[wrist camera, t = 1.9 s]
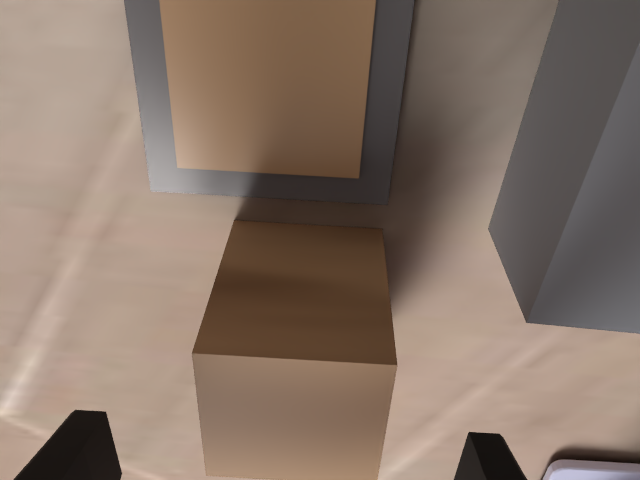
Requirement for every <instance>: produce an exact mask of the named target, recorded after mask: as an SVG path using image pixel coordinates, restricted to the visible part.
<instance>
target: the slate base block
mask: <svg viewBox="0 0 640 480" xmlns="http://www.w3.org/2000/svg"><path fill="white" fill-rule="evenodd" d="M488 230H489V232H490V235H491V237H492V240H493V242H494V244H495V247H496V249H497V252H498V254H499V257H500V259H501V262H502V264H503V266H504V269H505V271H506V274H507V276H508V279H509V281H510V284H511V286H512V289H513V291H514V293H515V296H516V298H517V301H518V303H519V306H520V308H521V311H522V313H523V315H524V318H525V320H526V323H535V324H545V325H556V326H566V327H576V328H587V329H597V330H608V331H618V332H628V333H639V334H640V0H559V3H558V6H557V9H556V13H555V16H554V19H553V22H552V25H551V29H550V32H549V35H548V38H547V41H546V45H545V48H544V51H543V54H542V57H541V61H540V64H539V67H538V70H537V74H536V77H535V80H534V83H533V86H532V90H531V93H530V96H529V99H528V102H527V106H526V109H525V112H524V115H523V118H522V122H521V125H520V128H519V131H518V135H517V138H516V141H515V144H514V147H513V151H512V154H511V157H510V160H509V163H508V167H507V170H506V173H505V176H504V179H503V183H502V186H501V189H500V192H499V196H498V199H497V202H496V205H495V208H494V212H493V215H492V218H491V221H490V224H489V228H488Z"/></svg>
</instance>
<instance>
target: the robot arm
mask: <svg viewBox="0 0 640 480" xmlns="http://www.w3.org/2000/svg"><path fill="white" fill-rule="evenodd" d="M121 475H122V472H121V468H120V464H119V460H118V456H117V453H116V449H115V445H114V441H113V437H112V433H111V429H110V426H109V422H108V418H107V414H106V412H102V411H84V410H75V411H74V412H72V413H71V414H70V415H69V416H68V417H67V419H66V420H65V421H64V422H63V423H62V425H61V426H60V427H59V428H58V429H57V430H56V432H55V433H54V434H53V435H52V436H51V437H50V439H49V440H48V441H47V442H46V443H45V444H44V446H43V447H42V448H41V449H40V450H39V451H38V452H37V454H36V455H35V456H34V457H33V458H32V459H31V460H30V462H29V463H28V464H27V465H26V466H25V467H24V468H23V469H22V471H21V472H20V473H19V474H18V475H17V476H16V477H15V478H14V480H120V479H121ZM454 480H527V479H526V477H525V475H524V474H523V472H522V470H521V468H520V467H519V465H518V463H517V461H516V460H515V458H514V456H513V454H512V452H511V451H510V449H509V447H508V445H507V443H506V442H505V440H504V438H503V437H502V436H501V435H500V434H494V433H476V432H469V433H468V436H467V439H466V442H465V446H464V449H463V452H462V455H461V459H460V462H459V465H458V468H457V471H456V475H455V478H454ZM543 480H640V464H635V463H618V462H601V461H585V460H568V459H562V460H557V461H555V462H553V463H551V465H550V466H549V467H548V469H547V471H546V473H545V476H544V478H543Z"/></svg>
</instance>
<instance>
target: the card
mask: <svg viewBox="0 0 640 480" xmlns="http://www.w3.org/2000/svg"><path fill="white" fill-rule="evenodd" d="M124 4H125V11H126V18H127V25H128V32H129V39H130V46H131V54H132V61H133V68H134V75H135V82H136V89H137V96H138V103H139V111H140V118H141V125H142V132H143V139H144V146H145V153H146V160H147V168H148V175H149V182H150V189H151V191H155V192H172V193H190V194H207V195H224V196H241V197H258V198H276V199H293V200H310V201H327V202H345V203H362V204H379V205H388V198H389V190H390V183H391V175H392V167H393V160H394V152H395V145H396V137H397V129H398V122H399V114H400V107H401V99H402V91H403V84H404V76H405V69H406V61H407V53H408V46H409V38H410V31H411V23H412V15H413V8H414V0H124Z"/></svg>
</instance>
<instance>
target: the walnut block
mask: <svg viewBox="0 0 640 480" xmlns="http://www.w3.org/2000/svg"><path fill="white" fill-rule="evenodd" d="M192 358H193V367H194V376H195V384H196V393H197V402H198V410H199V419H200V427H201V436H202V445H203V453H204V462H205V471H206V476H219V477H236V478H253V479H270V480H377V479H378V473H379V467H380V461H381V456H382V450H383V444H384V439H385V433H386V427H387V421H388V416H389V410H390V404H391V399H392V393H393V387H394V381H395V376H396V370H397V358H396V349H395V340H394V331H393V322H392V313H391V304H390V295H389V286H388V277H387V268H386V259H385V250H384V241H383V232H382V229H376V228H359V227H341V226H324V225H307V224H290V223H272V222H255V221H238V220H234V222H233V225H232V229H231V232H230V235H229V238H228V241H227V244H226V248H225V251H224V254H223V257H222V260H221V263H220V266H219V270H218V273H217V276H216V279H215V282H214V285H213V289H212V292H211V295H210V298H209V301H208V304H207V307H206V311H205V314H204V317H203V320H202V323H201V326H200V329H199V333H198V336H197V339H196V342H195V345H194V348H193V352H192Z"/></svg>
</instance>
